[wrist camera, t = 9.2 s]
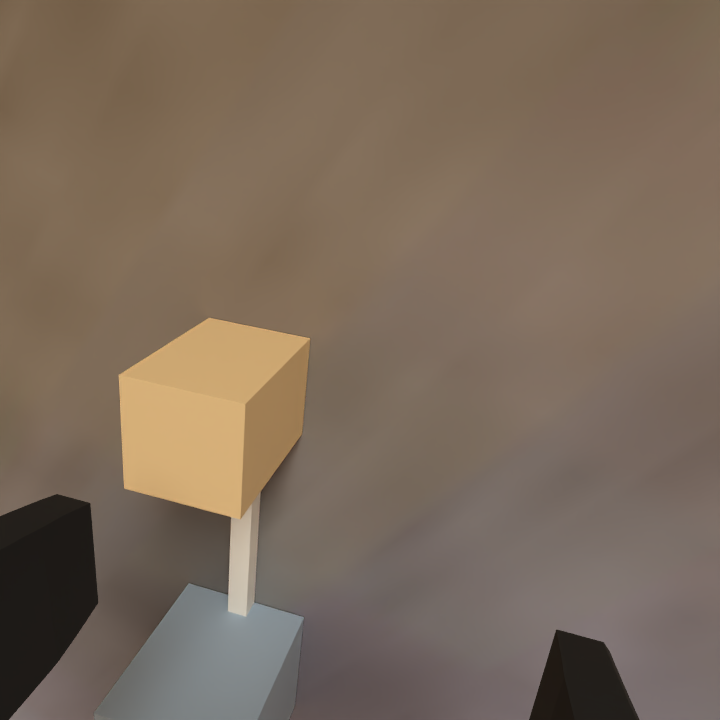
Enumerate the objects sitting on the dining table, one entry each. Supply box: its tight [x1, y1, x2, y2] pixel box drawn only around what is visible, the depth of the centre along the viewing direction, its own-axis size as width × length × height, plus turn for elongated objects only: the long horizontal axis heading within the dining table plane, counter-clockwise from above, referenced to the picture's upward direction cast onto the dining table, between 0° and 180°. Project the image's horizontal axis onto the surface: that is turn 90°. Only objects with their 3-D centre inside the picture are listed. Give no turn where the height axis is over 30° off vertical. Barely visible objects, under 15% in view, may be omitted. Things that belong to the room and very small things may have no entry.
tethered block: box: [94, 318, 310, 720], centre depth 19 cm, size 4×15×6 cm, turn 173°
